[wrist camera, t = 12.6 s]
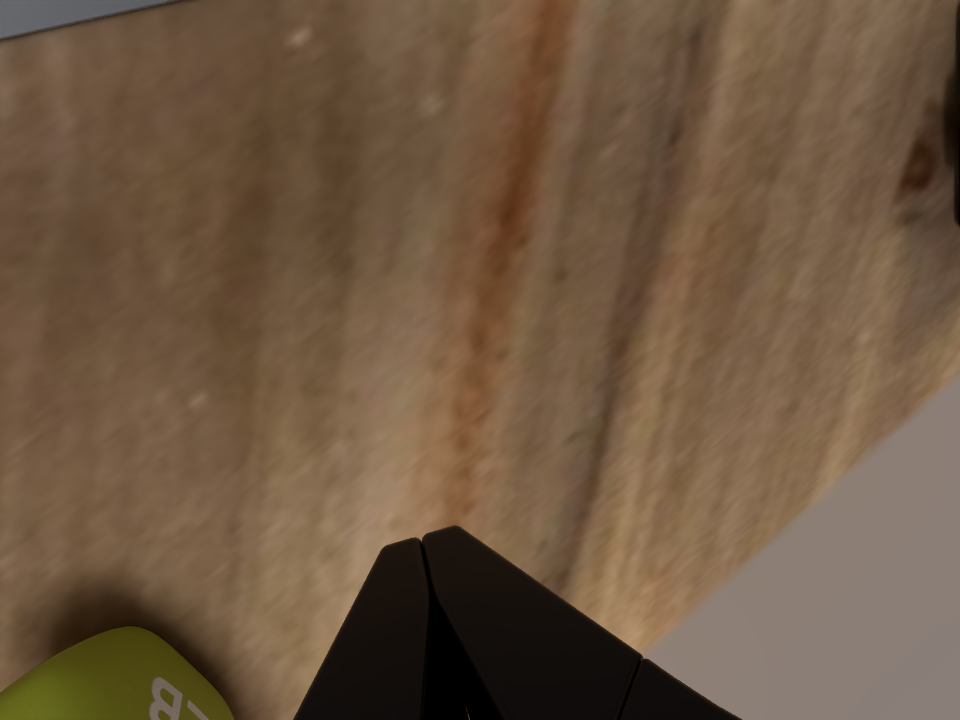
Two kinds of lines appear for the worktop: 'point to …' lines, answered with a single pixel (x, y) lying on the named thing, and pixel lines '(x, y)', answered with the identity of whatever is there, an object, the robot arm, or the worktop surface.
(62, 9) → the mat
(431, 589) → the robot arm
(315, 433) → the worktop surface
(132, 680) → the dumbbell
